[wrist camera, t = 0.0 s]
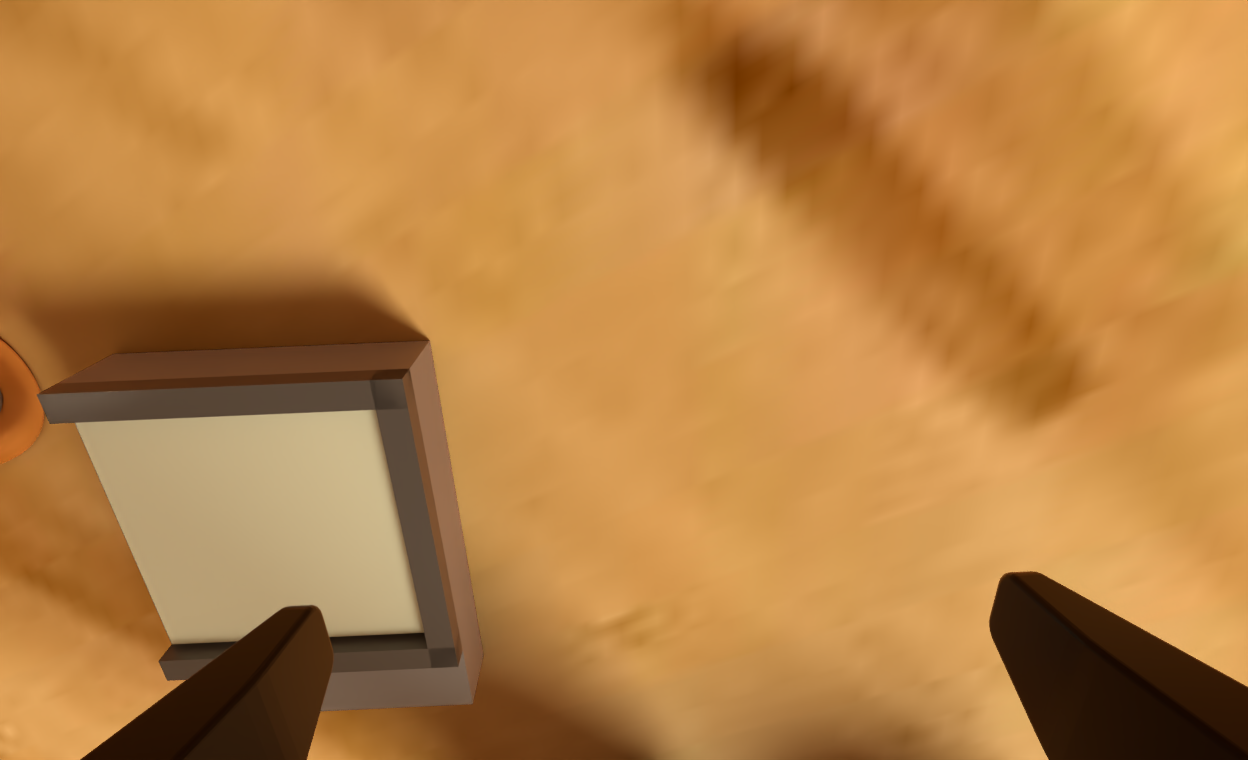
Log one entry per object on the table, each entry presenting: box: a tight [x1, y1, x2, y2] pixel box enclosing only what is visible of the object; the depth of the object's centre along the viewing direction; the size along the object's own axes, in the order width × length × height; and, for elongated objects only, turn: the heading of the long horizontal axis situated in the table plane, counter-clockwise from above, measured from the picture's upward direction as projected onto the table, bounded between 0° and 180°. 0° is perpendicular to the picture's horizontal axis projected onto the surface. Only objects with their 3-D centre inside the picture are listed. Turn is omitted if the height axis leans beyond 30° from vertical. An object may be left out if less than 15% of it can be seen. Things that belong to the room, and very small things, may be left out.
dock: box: [37, 341, 483, 711], centre depth 24 cm, size 15×11×3 cm
